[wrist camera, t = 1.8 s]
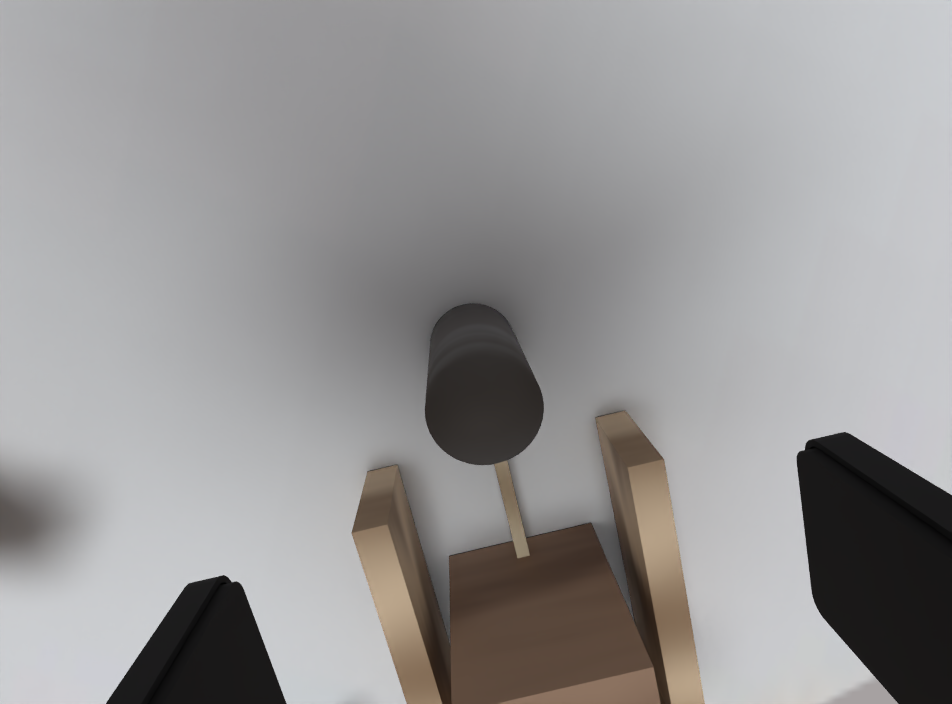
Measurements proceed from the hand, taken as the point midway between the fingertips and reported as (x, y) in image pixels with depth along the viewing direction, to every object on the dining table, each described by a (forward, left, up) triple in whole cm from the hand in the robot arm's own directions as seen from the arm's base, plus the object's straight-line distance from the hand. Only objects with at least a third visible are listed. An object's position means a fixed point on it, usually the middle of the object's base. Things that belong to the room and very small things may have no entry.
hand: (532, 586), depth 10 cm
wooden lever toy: (+6, 0, -14) cm, 15 cm away
